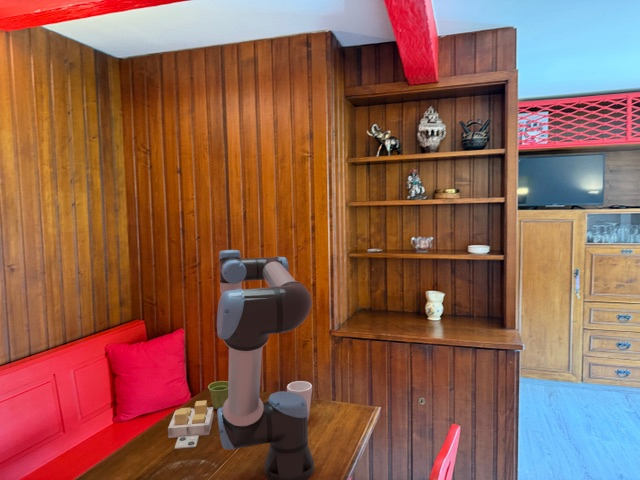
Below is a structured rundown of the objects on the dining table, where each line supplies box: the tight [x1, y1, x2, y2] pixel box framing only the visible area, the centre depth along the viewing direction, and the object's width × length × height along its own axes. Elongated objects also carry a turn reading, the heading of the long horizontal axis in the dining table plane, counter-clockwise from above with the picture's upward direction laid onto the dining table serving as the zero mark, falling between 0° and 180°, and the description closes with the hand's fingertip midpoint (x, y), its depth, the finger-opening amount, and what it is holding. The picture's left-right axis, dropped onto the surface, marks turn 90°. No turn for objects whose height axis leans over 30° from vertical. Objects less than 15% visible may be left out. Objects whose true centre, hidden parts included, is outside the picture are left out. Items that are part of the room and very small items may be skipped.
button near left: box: [174, 408, 188, 425], centre depth 157 cm, size 4×4×4 cm
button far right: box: [194, 400, 208, 415], centre depth 163 cm, size 4×4×4 cm
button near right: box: [192, 414, 205, 424], centre depth 158 cm, size 4×4×4 cm
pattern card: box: [174, 435, 200, 450], centre depth 150 cm, size 7×7×1 cm
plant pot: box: [207, 380, 228, 410], centre depth 176 cm, size 9×9×9 cm
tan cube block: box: [179, 407, 192, 416], centre depth 163 cm, size 4×4×4 cm
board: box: [167, 406, 214, 439], centre depth 160 cm, size 14×14×4 cm
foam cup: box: [286, 380, 313, 420], centre depth 164 cm, size 10×9×13 cm
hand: (233, 358), depth 156 cm, fingers closed
